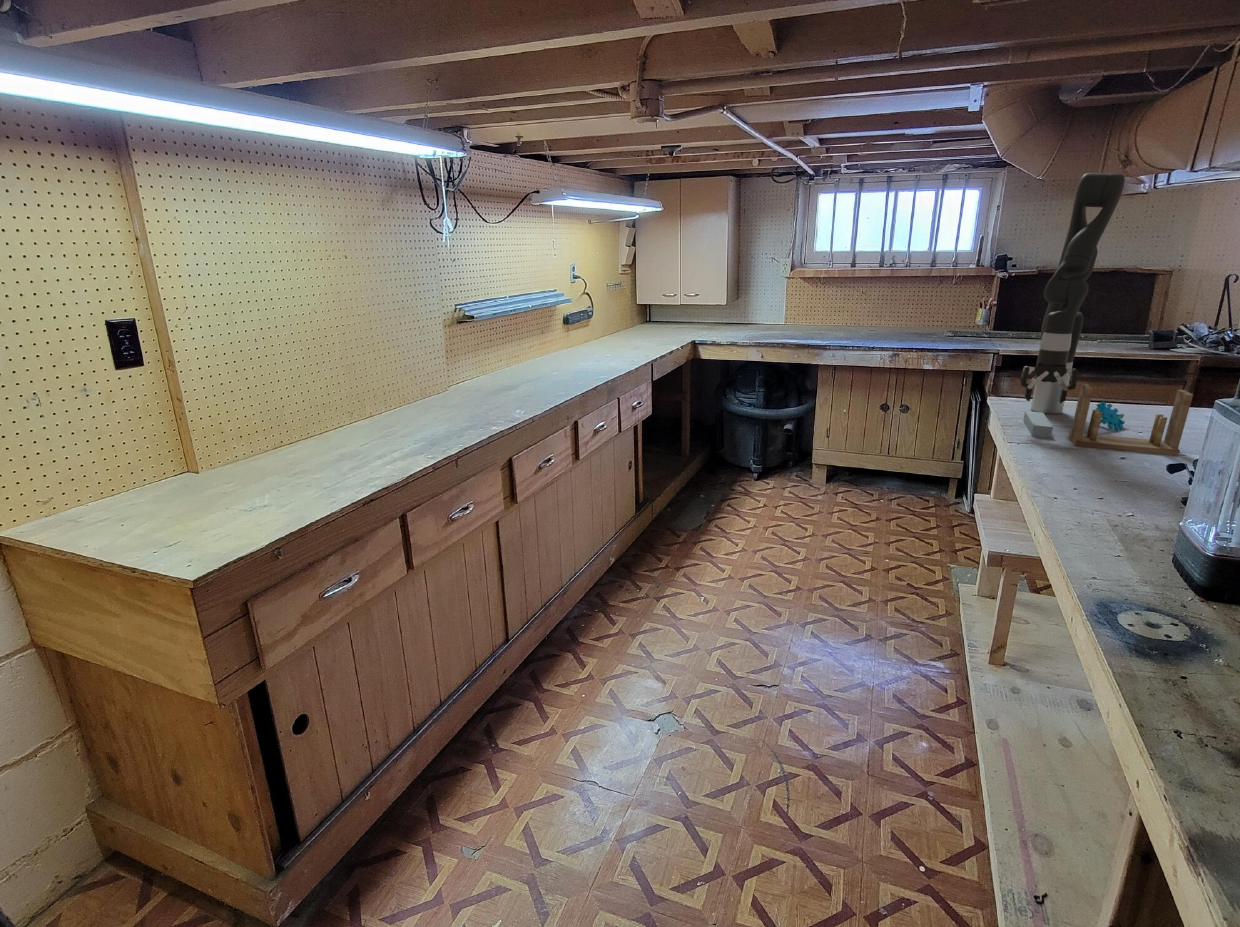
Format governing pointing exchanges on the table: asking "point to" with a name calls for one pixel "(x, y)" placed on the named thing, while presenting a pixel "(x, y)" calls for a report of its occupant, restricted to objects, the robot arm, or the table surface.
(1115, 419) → the gear
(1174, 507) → the table surface
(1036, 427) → the grey rectangular block
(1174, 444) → the stand
